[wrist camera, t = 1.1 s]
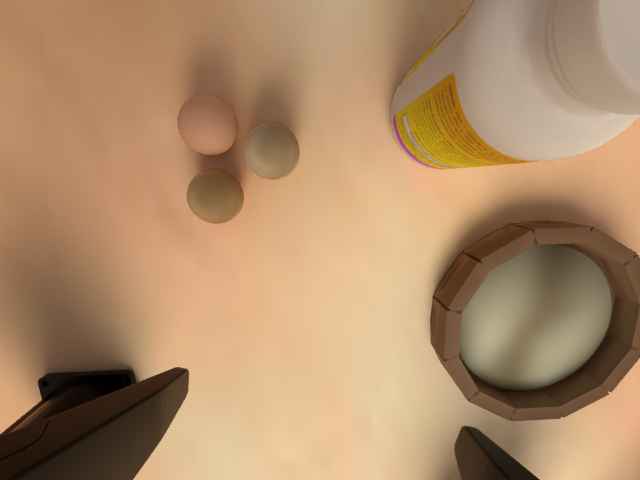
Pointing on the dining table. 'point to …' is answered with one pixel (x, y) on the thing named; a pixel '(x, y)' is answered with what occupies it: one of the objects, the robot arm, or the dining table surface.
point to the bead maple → (271, 150)
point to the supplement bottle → (521, 83)
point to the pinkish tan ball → (207, 125)
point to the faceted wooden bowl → (539, 319)
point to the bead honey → (215, 196)
